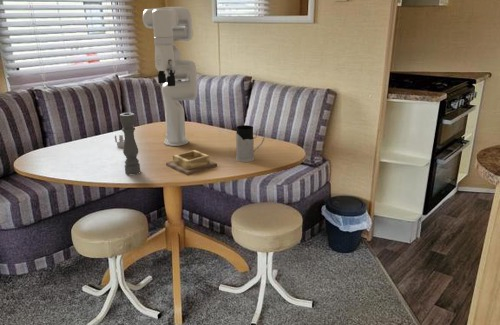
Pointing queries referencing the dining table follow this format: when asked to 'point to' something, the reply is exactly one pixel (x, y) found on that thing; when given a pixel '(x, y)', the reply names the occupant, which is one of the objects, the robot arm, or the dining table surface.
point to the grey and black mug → (245, 143)
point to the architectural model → (120, 141)
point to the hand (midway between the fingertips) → (166, 84)
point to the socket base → (191, 162)
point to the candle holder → (130, 144)
